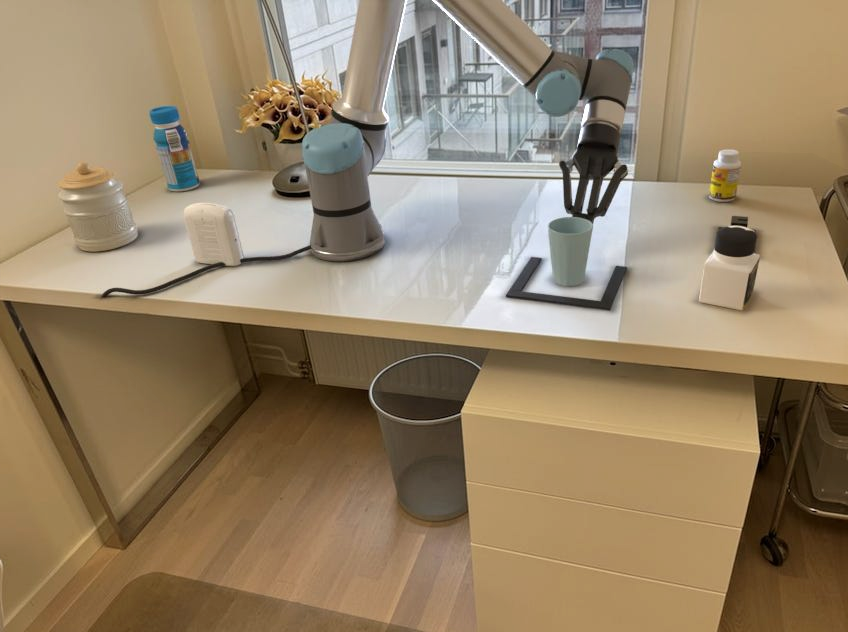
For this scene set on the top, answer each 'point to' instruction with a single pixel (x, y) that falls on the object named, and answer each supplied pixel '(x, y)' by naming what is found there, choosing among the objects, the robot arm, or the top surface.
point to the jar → (97, 208)
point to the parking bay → (603, 304)
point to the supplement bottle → (725, 176)
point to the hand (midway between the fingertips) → (576, 249)
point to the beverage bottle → (174, 149)
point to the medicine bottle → (730, 269)
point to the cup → (569, 249)
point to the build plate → (740, 223)
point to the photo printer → (213, 234)
